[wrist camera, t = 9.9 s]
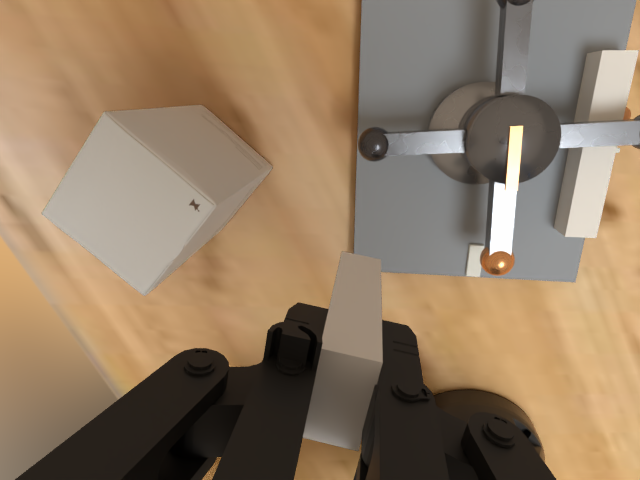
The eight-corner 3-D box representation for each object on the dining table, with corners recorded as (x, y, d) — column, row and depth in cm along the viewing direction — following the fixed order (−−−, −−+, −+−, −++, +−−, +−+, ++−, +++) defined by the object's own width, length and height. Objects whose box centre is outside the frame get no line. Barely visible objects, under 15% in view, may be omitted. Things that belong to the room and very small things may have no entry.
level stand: (575, 275, 40) (595, 294, 36) (354, 264, 42) (351, 280, 39) (638, -18, 32) (671, -32, 28) (362, -11, 35) (361, -24, 31)
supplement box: (201, 100, 39) (102, 104, 25) (275, 166, 40) (220, 205, 26) (149, 173, 42) (34, 213, 28) (219, 233, 43) (143, 300, 29)
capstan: (661, -33, 30) (733, -64, 24) (614, 254, 37) (660, 286, 31) (355, -3, 33) (350, -24, 27) (363, 257, 40) (360, 286, 34)
